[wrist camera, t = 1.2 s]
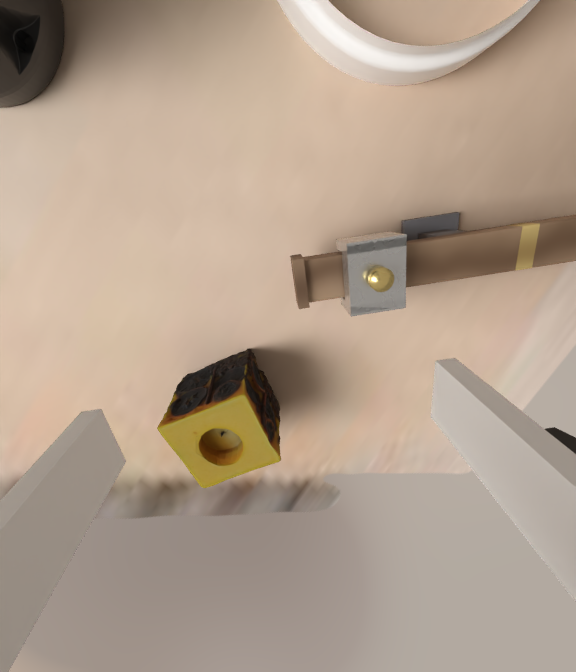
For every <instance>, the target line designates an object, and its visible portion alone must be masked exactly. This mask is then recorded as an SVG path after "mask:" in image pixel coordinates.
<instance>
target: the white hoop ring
mask: <svg viewBox="0 0 576 672" xmlns="http://www.w3.org/2000/svg"><path fill="white" fill-rule="evenodd" d="M277 1H278V3H279V5H280V7H281V9H282V10H283V12H284V13H285V15H286V17H287V18H288V20H289V21H290V23H291V25H292V26H293V27H294V28H295V30H296V31H297V32H298V34H299V35H300V36H301V37H302V39H303V40H304V41H305V42H306V43H307V44H308V45H309V46H310V47H311V48H312V49H313V50H314V51H315V52H316V53H317V54H318V55H319V56H321V57H322V58H323V59H324V60H325V61H327V62H328V63H329V64H331V65H332V66H334V67H335V68H337V69H338V70H340V71H342V72H344V73H346V74H348V75H350V76H352V77H354V78H356V79H359V80H363V81H366V82H369V83H374V84H379V85H387V86H404V85H414V84H418V83H423V82H428V81H430V80H433V79H436V78H439V77H442V76H444V75H446V74H448V73H450V72H452V71H454V70H457V69H458V68H460V67H462V66H463V65H465V64H466V63H468V62H470V61H471V60H473V59H474V58H475V57H477V56H478V55H479V54H481V53H482V52H483V51H485V50H486V49H487V48H489V47H490V46H491V45H493V44H494V43H495V42H497V41H498V40H499V39H500V38H502V37H503V36H504V35H506V34H507V33H508V32H509V31H510V30H512V29H513V28H514V27H515V26H516V25H517V24H518V23H519V22H520V21H521V20H522V19H523V18H525V16H526V15H527V14H528V13H529V12H530V11H531V10H532V9H533V8H534V7H535V6H536V4H537V3H538V2H539V1H540V0H528V1H527V2H526V3H525V4H524V5H523V6H522V7H520V8H519V9H518V10H517V11H516V12H515V13H514V14H512V15H511V16H510V17H508V18H506V19H505V20H503V21H502V22H500V23H499V24H497V25H495V26H494V27H492V28H490V29H488V30H486V31H484V32H482V33H480V34H478V35H475V36H472V37H469V38H467V39H464V40H461V41H457V42H453V43H448V44H444V45H433V46H416V45H406V44H401V43H396V42H392V41H389V40H387V39H384V38H381V37H378V36H376V35H374V34H372V33H370V32H368V31H366V30H364V29H362V28H361V27H359V26H358V25H357V24H355V23H354V22H352V21H351V20H349V19H348V18H347V17H345V16H344V15H343V14H342V13H341V12H340V11H339V10H338V9H337V8H335V7H334V6H333V5H332V4H331V3H330V2H329V0H277Z"/></svg>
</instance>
